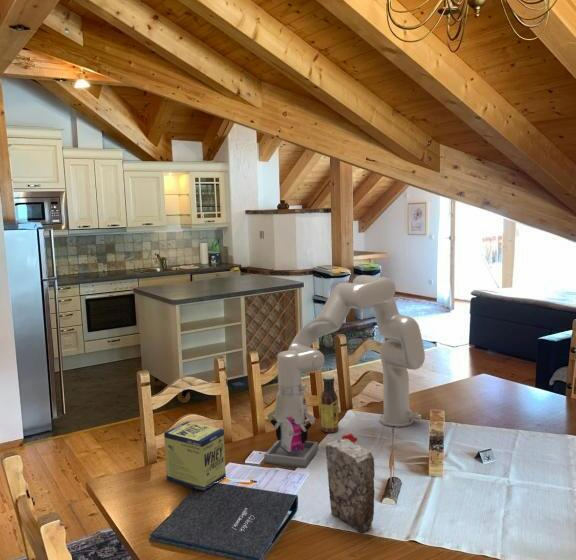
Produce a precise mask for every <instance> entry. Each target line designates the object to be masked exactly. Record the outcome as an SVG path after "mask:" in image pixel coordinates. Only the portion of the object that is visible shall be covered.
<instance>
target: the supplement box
mask: <svg viewBox="0 0 576 560" xmlns="http://www.w3.org/2000/svg"><path fill="white" fill-rule="evenodd" d="M280 428H281V448H282V449H283V450H285V451H286V452H287V453H288V454H289V453H292V452H296V451H300V450H303V449H304V448H303V443H302V436H301V432H302V431H303V430H302V428H301V427H300V425H298V424H295V420H294V419H289V418H284V423H281V424H280Z"/></svg>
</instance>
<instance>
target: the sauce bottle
mask: <svg viewBox="0 0 576 560" xmlns="http://www.w3.org/2000/svg"><path fill="white" fill-rule="evenodd" d="M322 381H323V390H322V392H321V394H320V413H321V414H320V416H321V417H320V418H321V430H322V431H323V432H324V433H335V432H338V430H339V400H338V399H339V398H338V396H337V393H336V390H335V377H334V376H330V375H329V376H328V375H327V376H324V377H322Z"/></svg>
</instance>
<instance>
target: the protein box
mask: <svg viewBox="0 0 576 560" xmlns="http://www.w3.org/2000/svg"><path fill="white" fill-rule="evenodd" d="M224 431H225V430H224V429H223V428H220V427H219V428H218V427H214V426H210V425H207V424H206V425H205V424H200V423H197V422H192V421H185V422H184V423H183V422H182V423H181V424H179V425H177V426H175V427H172V428H171V429H168V430H167V431H164V433H163V436H164V454H165V471H166V472H165V473H166V481H170V482H173V483H174V484H175V483H176V484H178V485H181V486H184V487H188V488H191V489H194V487H196V486H198V487H201V488H205V487H207V486H208V485H210V484H212V483H214V482H217V481H219V480H221V479H223V478H224V477H226V478H227V476H226V475H227V474H226V471H227V470H226V457H225V455H226V451H225V450H226V449H225V434H224ZM224 479H225V478H224ZM224 479H223V480H224ZM221 481H222V480H221Z"/></svg>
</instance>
